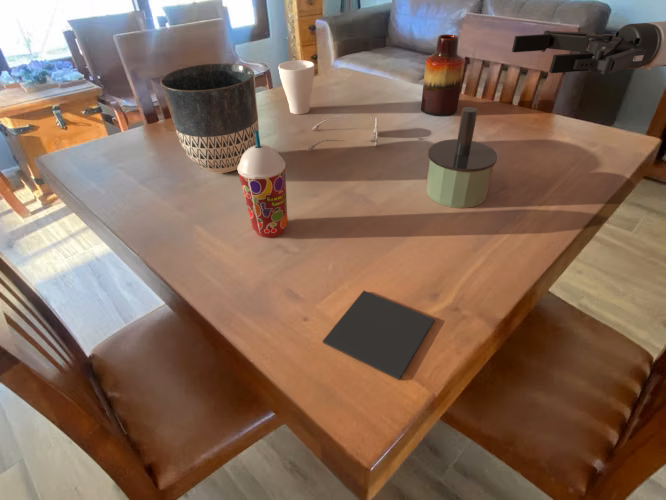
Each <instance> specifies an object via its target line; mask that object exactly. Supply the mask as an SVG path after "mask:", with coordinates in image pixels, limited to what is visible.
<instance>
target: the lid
mask: <svg viewBox="0 0 666 500" xmlns="http://www.w3.org/2000/svg"><path fill="white" fill-rule="evenodd" d="M478 112H479V111H478V108H476V107H474V106H464V107H462V109H461V116H460V121H459V127H458V133H457V138H456V139H455V138H452V139H445V140H440V141H438V142H435V143H433V144H432V145H430V147H429V148H428V151H427V156H428V157H427V158H428V160H429V159H430V160H431V161H432V162H433V163H435V164H436V165H438V166H440V167H443V168H446V169H449V170H454V171H461V172H476V171H482V170H486V169H489V168H491V167H492V166H495V165H496V164H497V162H498V158H499V157H498V153H497V152H496V151H495V149H493V148H492V147H491V146H489V145H487V144H484V143H482V142H479V141H475V140H473V138H474V132H475V126H476V122H477V116H478Z"/></svg>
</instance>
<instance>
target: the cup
mask: <svg viewBox="0 0 666 500" xmlns="http://www.w3.org/2000/svg"><path fill="white" fill-rule="evenodd" d="M277 68H278V72H279V78H280V81H281V85H282V88H283V90H284V94H285V97H286V100H287V102H288V103H287V104H288V107H289V112H290V113H291V114H292V115H305V114H308V113H309V112H310V110H311V109H310V108H311V97H312V91H313V87H314V86H313V85H314V80H315V63H314V62H313V61H310V60H304V59H296V60H295V59H294V60H287V61H284V62H281V63H279V64H278V66H277Z"/></svg>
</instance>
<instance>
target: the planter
mask: <svg viewBox="0 0 666 500" xmlns="http://www.w3.org/2000/svg"><path fill="white" fill-rule="evenodd" d="M255 79H256V77H255V72H254V70H253V69H252V68H251V67H249V66H246V65H242V64H239V63H230V62H227V63H226V62H217V63H216V62H214V63H202V64H196V65H195V64H194V65H190V66H185V67H182V68H178V69H175V70H172V71H170V72H168V73H166V74H165V75H164V76H162V77H161V79H160V82H159V83H160V86H161V90H162V93H163V97H164V100H165V102H166V105H167V109H168V111H169V114H170V117H171V121H172V124H173V126H174V130H175V133H176V135H177V138H178V141H179V143H180V146H181V148H182V149H183V151H184V152H185V155H186V156H187V157H188V158H189V160H191V162H193V164H195V165H196V166H198V167H199V168H201V169H203V170H205V171H208V172H210V173H215V174H225V173H232V172H235V171H238V170H237V167H238V164H239V163H240V160H241V157H242V155H243V153H244V152H245V151H246V150H247V149H248V148H250V147H252V146H254V145H256V139H255V132H254V131H255V130H258V132H259V133H260V131H259V130H260V128H259V127H260V126H259V114H258V103H257V91H256V80H255Z"/></svg>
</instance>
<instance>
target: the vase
mask: <svg viewBox="0 0 666 500" xmlns="http://www.w3.org/2000/svg"><path fill="white" fill-rule="evenodd" d="M458 47H459V36H458V35H455V34H449V33H448V34H440V35H438V37H437V41H436V47H435V51H434V53H433V54H430V55H428V56H427V57H426V58H425V65H424V66H425V67H424V77H423V84H422V95H421V103H420V104H421V105H420V106H421V107H420V110H421V112H422V113H424V114H426V115H429V116H433V117H448V116H452V115H454V114H456V113H457V112H458V109H459V108H458V107H459V102H460V96H461V95H460V94H461V89H462V82H463V76H464V69H465V64H466V60H465V58H464V57H463V56H461V55H460V54H458V49H459V48H458Z"/></svg>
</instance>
